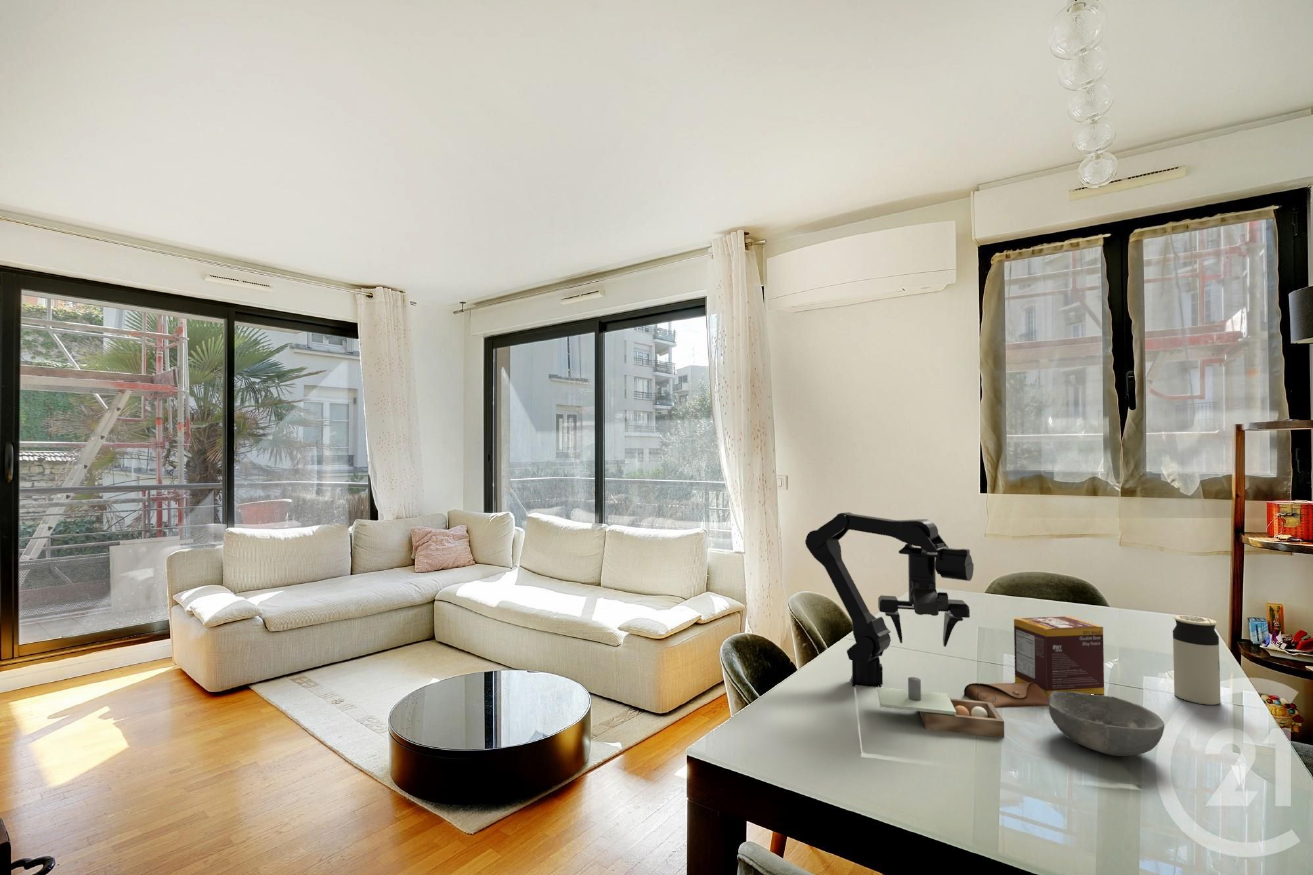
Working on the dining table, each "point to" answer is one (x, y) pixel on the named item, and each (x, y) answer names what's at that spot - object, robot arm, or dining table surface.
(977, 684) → the sunglasses case
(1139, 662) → the dining table surface
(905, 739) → the dining table surface
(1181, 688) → the travel mug
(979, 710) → the ball
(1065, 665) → the supplement box
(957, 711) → the ball
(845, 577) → the robot arm
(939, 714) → the box
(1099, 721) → the bowl
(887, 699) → the lid
